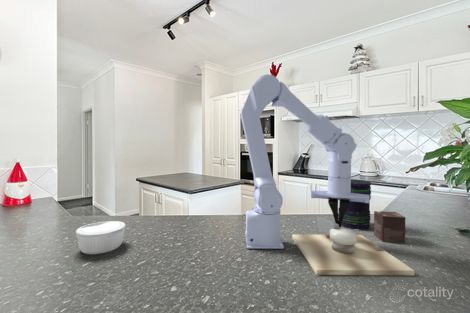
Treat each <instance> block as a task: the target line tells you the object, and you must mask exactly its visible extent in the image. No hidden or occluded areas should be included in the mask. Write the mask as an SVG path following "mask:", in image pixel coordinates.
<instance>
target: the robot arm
mask: <svg viewBox="0 0 470 313" xmlns="http://www.w3.org/2000/svg"><path fill="white" fill-rule="evenodd" d="M270 103H272V104H271V107H278V108H279V107H282V108H285V110H287V111H288V112H290V113H291V114H292V115H294V116H295V117H296V118H297V119H299V120H300V121H302V123H304V124H305V125H306V127H305V128H306V131H307V132H308V133H309V134H310V135H311V136H313V137H314V138H315V139H317V141H319V142H320V143H321V144H322V145H324V149H325V151H326V152H328V165H327V166H328V168H327V169H328V171H327V172H328V173H327V179H328V180H327V190H311V192H310V198H311V199H324V200H328V201H327V202H328V206H329V208H330V210H331V213H332V215H333V218H334V223H336V224H338V225H339V228H342V226H341V224H342V220H343V217H344V215H345V212H346V211H347V209H348V207H349V205H350V201H355V202H365V203H369V198H370V196H369V195H366V194H357V193H351V180H352V159H353V153H354V152H355V150H356V148H357V146H358V145H357V143H356V142H355V140H354V138H353V135H351V134H349V133H346V132H343V129H342V128H341V127H338V126H336V125H335V124H334V123H333V122H332V121H330V117H329V116H328V115H324V114H322V113H321V114H315V113H314V112H313V111H312V110H311V109H310V108H309V106H307V105H305V103H303V102H302V101H301V100H300V98H298V97H297V96H296V95H295V94H294V93H293V92H292V91H291V90H290V89H289V88H288V87H287V85H286V84H285V83H284V82H282V81H280V80H279V79H278V78H277V77H276V76H275V75H273V74H267V73H266V74H263V75H261V76H260V77H258V79H257V80H256V81H255V82H254V83H253V84H252V85H251V88H250V90H249V92H248V94H247V96H246V99H245V101H244V103H243V106H242V107H241V108H242V109H241V111H240V118H241V123H242V128H243V132H244V137H245V141H246V147H247V151H248V155H249V160H250V166H251V170H252V175H253V184H254V190H253V199H254V201H255V203H256V204H255V205H254V207H253V209H252V210H250V209H249V210H246V211H245V230H244V238H245V242H246V243H245V244H246V248H247V249H265V250H267V249H269V250H270V249H271V250H273V249H276V250H277V249H281V250H283V249H285V245H284V244H283V242H282V240H281V208H282V206H283V202H284V201H283V195H282V193H281V192H280V191H279V190H278V188H277V184H276V180H275V179H274V176H273V174H272V170H271V164H270V160H269V155H268V150H267V146H266V141H265V137H264V132H263V126H262V123H261V118H260V116H261V115H262V113H263V111H264V110H265V108H266V107H267V106H268V105H269V104H270ZM346 198H347V199H346ZM339 200H340V206H339ZM338 209H339V219H338Z"/></svg>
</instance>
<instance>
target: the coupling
mask: <svg viewBox="0 0 470 313" xmlns="http://www.w3.org/2000/svg"><path fill="white" fill-rule="evenodd" d="M316 221H317V222H316V225H317V226H316V228H317V229H318V230H320V231H322V232H324V233H326V234H327V235H330V240H331V241H333V242H335V243H338V244H343V245H354V244H356V243H357V235H358V233H357V232H356V231H354V230H353V229H349V228H344V227H343V228H342V227H339V225H338V224H336V223H335V221H332V220H329V219H327V218H325V217H322V216H321V217H320V216H319V217H317V220H316Z"/></svg>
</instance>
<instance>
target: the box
mask: <svg viewBox="0 0 470 313" xmlns="http://www.w3.org/2000/svg"><path fill="white" fill-rule="evenodd" d="M406 218H407V217H406V216H403V215H401V214H400V213H399V212H396V211H383V210H374V211H373V235H374V236H375V237H376V238H378V239H379V240H380V241H381V242H386V243H399V244H405V243H406V220H407V219H406Z"/></svg>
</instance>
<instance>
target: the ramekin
mask: <svg viewBox="0 0 470 313" xmlns="http://www.w3.org/2000/svg"><path fill="white" fill-rule="evenodd" d="M125 230H126V223H125V222H123V221H116V220H109V221H98V222H93V223H89V224H85V225H83V226H80V227H78V228H77V229H76V230H75V236H76V238H77V243H78V248H79V251H80V252H81V253H83V254H86V255H100V254H106V253H109V252H113V251H114V250H116V249H118V248H119V247H120V246H121V245H122V243H123V240H124V236H125Z"/></svg>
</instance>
